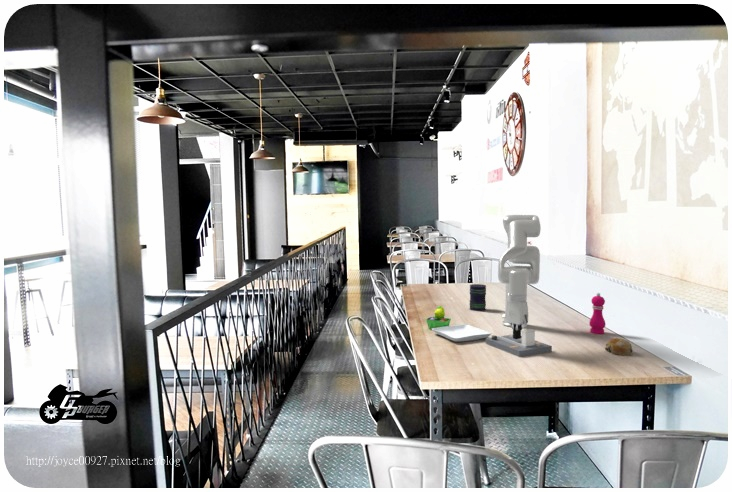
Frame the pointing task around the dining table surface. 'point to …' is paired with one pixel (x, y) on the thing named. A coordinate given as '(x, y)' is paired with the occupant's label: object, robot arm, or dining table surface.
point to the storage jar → (477, 297)
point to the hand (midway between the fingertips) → (516, 338)
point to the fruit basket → (438, 319)
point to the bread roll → (619, 347)
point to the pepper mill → (597, 315)
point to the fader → (528, 337)
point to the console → (517, 345)
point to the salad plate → (461, 333)
